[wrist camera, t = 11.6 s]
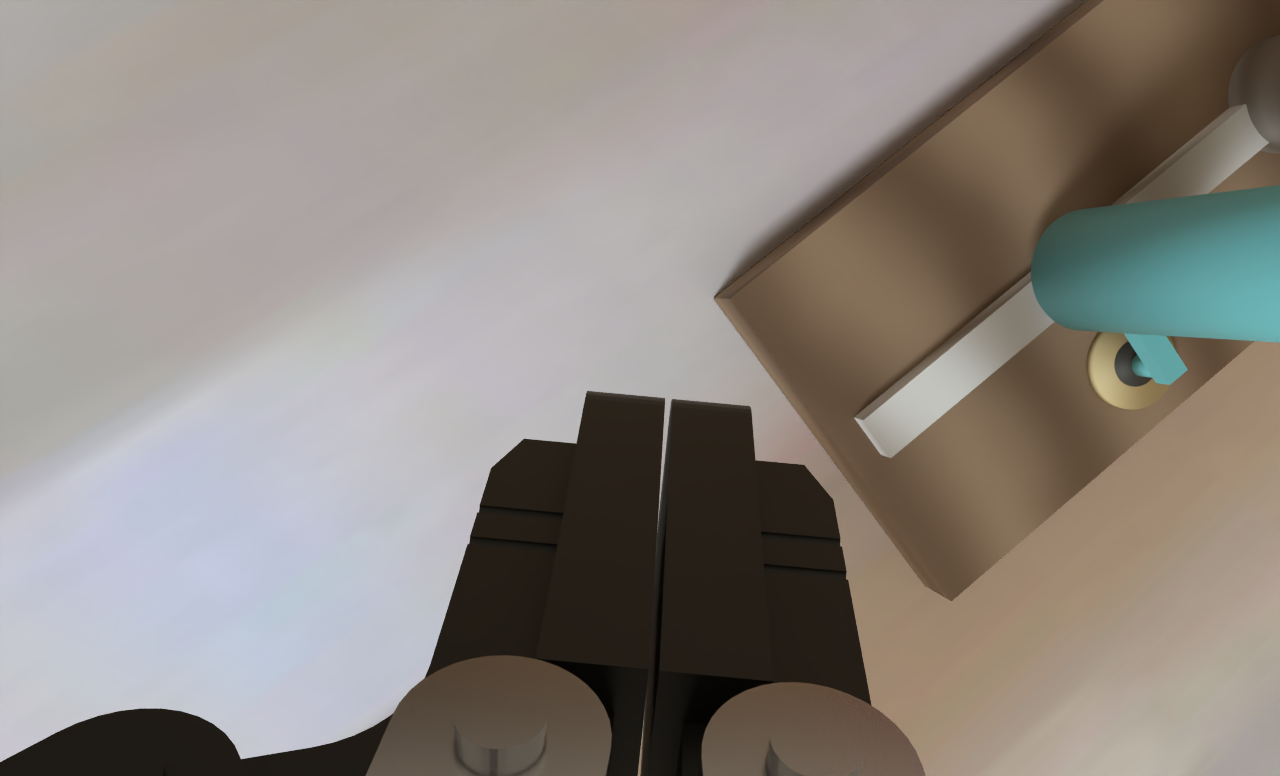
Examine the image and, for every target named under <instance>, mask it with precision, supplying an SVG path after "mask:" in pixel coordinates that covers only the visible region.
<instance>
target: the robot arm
mask: <svg viewBox="0 0 1280 776" xmlns="http://www.w3.org/2000/svg"><path fill="white" fill-rule="evenodd" d="M664 409H665V398H657V397H647V396H636V395H625V394H614V393H603V392H592V391H587V393H586V398H585V403H584V408H583V413H582V418H581V424H580V429H579V434H578V439H577V444H574V443H563V442H552V441H542V440H531V439H523V440H522V441H521V442H520V443H519V444H518V445H517V446H516V447H514V448H513V449H512V450H511V451H510V452H509V453H508V454H507V455H506V456H504V457H503V458H502V459H501V460H500V461H499V462H498V463H497V464H495V465H494V466H493V467H492V468H491V471H490V474H489V477H488V481H487V484H486V487H485V490H484V493H483V497H482V500H481V503H480V510H479V513H477V516H476V519H475V522H474V526H473V529H472V532H471V535H470V543H469V544H468V545H467V548H466V551H465V555H464V558H463V561H462V564H461V568H460V571H459V574H458V577H457V580H456V584H455V587H454V590H453V593H452V597H451V600H450V603H449V606H448V610H447V613H446V616H445V619H444V622H443V626H442V629H441V632H440V635H439V639H438V642H437V645H436V648H435V651H434V655H433V658H432V661H431V664H430V667H429V669H428V672H427V674H426V676H425V679H423V680H422V681H421V682H419V683H418V684H417V685H416V686H415V687H414V688H412V689H411V690H410V691H409V692H408V693H407V695H406V696H405V697H404V698H403V699H402V701H401V702H400V703H399V705H398V706H397V708H396V710H395V712H394V713H393V714H392V715H391V716H389V717H388V718H386V719H385V720H383V721H381V722H380V723H378V724H377V725H375V726H373V727H371V728H369V729H367V730H365V731H363V732H361V733H359V734H356V735H354V736H352V737H349V738H346V739H343V740H340V741H337V742H334V743H330V744H325V745H321V746H316V747H312V748H306V749H300V750H294V751H288V752H282V753H276V754H270V755H264V756H258V757H252V758H246V759H240V756H239V754H238V752H237V750H236V747H235V745H234V744H233V743H232V741H231V740H230V739H229V738H228V736H227V735H226V734H225V733H224V732H223V731H221V730H220V729H219V728H217V727H216V726H215V725H214V724H212V723H210V722H208V721H206V720H204V719H202V718H200V717H198V716H195V715H191V714H188V713H185V712H181V711H174V710H167V709H134V710H125V711H118V712H114V713H110V714H105V715H101V716H97V717H94V718H91V719H88V720H85V721H82V722H79V723H77V724H74V725H72V726H70V727H68V728H66V729H64V730H61V731H59V732H57V733H55V734H53V735H51V736H49V737H47V738H45V739H44V740H42V741H40V742H38V743H36V744H34V745H32V746H30V747H28V748H26V749H25V750H23V751H21V752H19V753H17V754H15V755H13V756H11V757H9V758H7V759H6V760H4V761H2V762H0V776H637V775H638V765H639V756H640V747H641V738H642V728H643V742H642V758H641V775H640V776H925V773H924V770H923V767H922V764H921V762H920V759H919V757H918V755H917V752H916V751H915V749H914V747H913V746H912V744H911V743H910V741H909V740H908V738H907V737H906V736H905V735H904V733H903V732H902V731H901V730H900V729H899V728H898V727H897V726H896V725H895V724H894V723H893V722H892V721H891V720H890V719H889V718H887V717H886V716H885V715H884V714H883V713H881V712H880V711H878V710H877V709H875V708H874V707H872V706H871V701H870V695H869V690H868V685H867V679H866V674H865V668H864V663H863V658H862V652H861V647H860V642H859V636H858V631H857V625H856V620H855V615H854V609H853V604H852V598H851V593H850V588H849V582H848V580H846V566H845V561H844V555H843V550H842V547H841V546H840V534H839V528H838V523H837V518H836V512H835V507H834V502H833V499H832V498H831V497H830V496H829V494H828V493H827V492H826V491H825V490H824V488H823V487H822V486H821V485H820V484H819V482H818V481H817V480H816V479H815V478H814V476H813V475H812V474H811V473H810V472H809V470H808V469H807V468H806V467H805V466H804V465H798V464H788V463H777V462H766V461H755V451H754V438H753V426H752V413H751V408H750V406H741V405H731V404H720V403H709V402H698V401H687V400H676V399H672V401H671V408H670V417H669V426H668V435H667V445H666V454H665V464H664V473H663V483H662V492H661V502H660V511H659V521H658V509H659V493H660V476H661V459H662V442H663V426H664ZM657 526H658V530H657ZM643 719H644V726H643Z"/></svg>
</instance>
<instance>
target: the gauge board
mask: <svg viewBox="0 0 1280 776" xmlns="http://www.w3.org/2000/svg"><path fill="white" fill-rule="evenodd" d="M1275 185H1280V0H1087V1H1086V2H1085V3H1084V4H1082V5H1081V6H1080V7H1079V8H1077V9H1076V10H1075V11H1073V12H1072V13H1071V14H1070V15H1068V16H1067V17H1066V18H1065V19H1063V20H1062V21H1061V22H1060V23H1058V24H1057V25H1056V26H1055V27H1053V28H1052V29H1051V30H1050V31H1048V32H1047V33H1046V34H1045V35H1043V36H1042V37H1041V38H1040V39H1038V40H1037V41H1036V42H1035V43H1033V44H1032V45H1031V46H1030V47H1028V48H1027V49H1026V50H1025V51H1023V52H1022V53H1021V54H1020V55H1018V56H1017V57H1016V58H1014V59H1013V60H1012V61H1011V62H1009V63H1008V64H1007V65H1006V66H1004V67H1003V68H1002V69H1001V70H999V71H998V72H997V73H996V74H994V75H993V76H992V77H991V78H989V79H988V80H987V81H986V82H984V83H983V84H982V85H981V86H979V87H978V88H977V89H976V90H974V91H973V92H972V93H971V94H969V95H968V96H967V97H966V98H964V99H963V100H962V101H960V102H959V103H958V104H957V105H955V106H954V107H953V108H952V109H950V110H949V111H948V112H947V113H945V114H944V115H943V116H942V117H940V118H939V119H938V120H937V121H935V122H934V123H933V124H932V125H930V126H929V127H928V128H927V129H925V130H924V131H923V132H922V133H920V134H919V135H918V136H917V137H915V138H914V139H913V140H912V141H910V142H909V143H908V144H906V145H905V146H904V147H903V148H901V149H900V150H899V151H898V152H896V153H895V154H894V155H893V156H891V157H890V158H889V159H888V160H886V161H885V162H884V163H883V164H881V165H880V166H879V167H878V168H876V169H875V170H874V171H873V172H871V173H870V174H869V175H868V176H866V177H865V178H864V179H863V180H861V181H860V182H859V183H858V184H856V185H855V186H854V187H852V188H851V189H850V190H849V191H847V192H846V193H845V194H844V195H842V196H841V197H840V198H839V199H837V200H836V201H835V202H834V203H832V204H831V205H830V206H829V207H827V208H826V209H825V210H824V211H822V212H821V213H820V214H819V215H817V216H816V217H815V218H814V219H812V220H811V221H810V222H809V223H807V224H806V225H805V226H804V227H802V228H801V229H800V230H799V231H797V232H796V233H795V234H793V235H792V236H791V237H790V238H788V239H787V240H786V241H785V242H783V243H782V244H781V245H780V246H778V247H777V248H776V249H775V250H773V251H772V252H771V253H770V254H768V255H767V256H766V257H765V258H763V259H762V260H761V261H760V262H758V263H757V264H756V265H755V266H753V267H752V268H751V269H750V270H748V271H747V272H746V273H745V274H743V275H742V276H741V277H739V278H738V279H737V280H736V281H734V282H733V283H732V284H731V285H729V286H728V287H727V288H726V289H724V290H723V291H722V292H721V293H719V294H718V295H717V296H716V297H714V298H713V299H714V300H715V301H716V303H717V304H718V305H719V307H720V308H721V309H722V311H723V312H724V314H725V315H726V316H727V318H728V319H729V320H730V322H731V323H732V324H733V326H734V327H735V328H736V330H737V331H738V333H739V334H740V335H741V337H742V338H743V339H744V341H745V342H746V343H747V345H748V346H749V347H750V349H751V350H752V352H753V353H754V354H755V356H756V357H757V358H758V360H759V361H760V362H761V364H762V365H763V367H764V368H765V369H766V371H767V372H768V373H769V375H770V376H771V377H772V379H773V380H774V381H775V383H776V384H777V386H778V387H779V388H780V390H781V391H782V392H783V394H784V395H785V396H786V398H787V399H788V400H789V402H790V403H791V405H792V406H793V407H794V409H795V410H796V411H797V413H798V414H799V415H800V417H801V418H802V419H803V421H804V422H805V424H806V425H807V426H808V428H809V429H810V430H811V432H812V433H813V434H814V436H815V437H816V438H817V440H818V441H819V443H820V444H821V445H822V447H823V448H824V449H825V451H826V452H827V453H828V455H829V456H830V458H831V459H832V460H833V462H834V463H835V464H836V466H837V467H838V468H839V470H840V471H841V472H842V474H843V475H844V477H845V478H846V479H847V481H848V482H849V483H850V485H851V486H852V487H853V489H854V490H855V491H856V493H857V494H858V496H859V497H860V498H861V500H862V501H863V502H864V504H865V505H866V506H867V508H868V509H869V510H870V512H871V513H872V515H873V516H874V517H875V519H876V520H877V521H878V523H879V524H880V525H881V527H882V528H883V530H884V531H885V532H886V534H887V535H888V536H889V538H890V539H891V540H892V542H893V543H894V544H895V546H896V547H897V549H898V550H899V551H900V553H901V554H902V555H903V557H904V558H905V559H906V561H907V562H908V563H909V565H910V566H911V568H912V569H913V570H914V572H915V573H916V574H917V576H918V577H919V578H920V580H921V581H922V582H923V584H924V585H925V586H926V587H928V588H930V589H931V590H933V591H935V592H937V593H938V594H940V595H942V596H943V597H945V598H947V599H949V600H950V601H952V600H953V599H955V598H956V597H957V596H958V595H959V594H960V593H962V592H963V591H964V590H965V589H966V588H967V587H969V586H970V585H971V584H972V583H973V582H974V581H976V580H977V579H978V578H979V577H980V576H981V575H983V574H984V573H985V572H986V571H987V570H988V569H990V568H991V567H992V566H993V565H994V564H995V563H996V562H998V561H999V560H1000V559H1001V558H1002V557H1003V556H1005V555H1006V554H1007V553H1008V552H1009V551H1010V550H1012V549H1013V548H1014V547H1015V546H1016V545H1017V544H1019V543H1020V542H1021V541H1022V540H1023V539H1024V538H1026V537H1027V536H1028V535H1029V534H1030V533H1031V532H1033V531H1034V530H1035V529H1036V528H1037V527H1038V526H1040V525H1041V524H1042V523H1043V522H1044V521H1045V520H1047V519H1048V518H1049V517H1050V516H1051V515H1052V514H1054V513H1055V512H1056V511H1057V510H1058V509H1059V508H1061V507H1062V506H1063V505H1064V504H1065V503H1066V502H1068V501H1069V500H1070V499H1071V498H1072V497H1073V496H1074V495H1076V494H1077V493H1078V492H1079V491H1080V490H1081V489H1083V488H1084V487H1085V486H1086V485H1087V484H1088V483H1090V482H1091V481H1092V480H1093V479H1094V478H1095V477H1097V476H1098V475H1099V474H1100V473H1101V472H1102V471H1104V470H1105V469H1106V468H1107V467H1108V466H1109V465H1111V464H1112V463H1113V462H1114V461H1115V460H1116V459H1118V458H1119V457H1120V456H1121V455H1122V454H1123V453H1125V452H1126V451H1127V450H1128V449H1129V448H1130V447H1132V446H1133V445H1134V444H1135V443H1136V442H1137V441H1139V440H1140V439H1141V438H1142V437H1143V436H1144V435H1145V434H1147V433H1148V432H1149V431H1150V430H1151V429H1152V428H1154V427H1155V426H1156V425H1157V424H1158V423H1159V422H1161V421H1162V420H1163V419H1164V418H1165V417H1166V416H1168V415H1169V414H1170V413H1171V412H1172V411H1173V410H1175V409H1176V408H1177V407H1178V406H1179V405H1180V404H1182V403H1183V402H1184V401H1185V400H1186V399H1187V398H1189V397H1190V396H1191V395H1192V394H1193V393H1194V392H1196V391H1197V390H1198V389H1199V388H1200V387H1201V386H1203V385H1204V384H1205V383H1206V382H1207V381H1208V380H1210V379H1211V378H1212V377H1213V376H1214V375H1215V374H1217V373H1218V372H1219V371H1220V370H1221V369H1222V368H1223V367H1225V366H1226V365H1227V364H1228V363H1229V362H1230V361H1232V360H1233V359H1234V358H1235V357H1236V356H1237V355H1239V354H1240V353H1241V352H1242V351H1243V350H1244V349H1246V348H1247V347H1248V346H1249V345H1250V344H1251V343H1253V342H1254V341H1246V340H1229V339H1212V338H1195V337H1178V336H1167V338H1168V340H1169V341H1170V343H1171V344H1172V346H1173V347H1174V349H1175V350H1176V352H1177V354H1178V355H1179V357H1180V358H1181V360H1182V361H1183V363H1184V364H1185V366H1186V368H1187V369H1188V370H1187V371H1186V372H1185V373H1183V374H1182V375H1181V376H1180V377H1179V378H1178V379H1176V380H1175V381H1174V382H1173V383H1172V384H1171V385H1167V384H1159V383H1156V382H1155V381H1154V379H1153V378H1151V377H1142V376H1138V375H1136V374H1135V373H1134V372H1133V370H1132V360H1133V358H1134V357H1135V356H1136V355H1137V353H1136V352H1135V350H1134V349H1133V347H1132V346H1131V344H1130V343H1129V341H1128V339H1127V338H1126V336H1125V335H1124V333H1111V332H1094V331H1077V330H1072V329H1069V328H1066V327H1063V326H1061V325H1060V324H1058V323H1056V322H1055V321H1054V320H1052V319H1051V318H1050V317H1049V316H1048V315H1047V314H1046V313H1045V312H1044V310H1043V309H1042V308H1041V306H1040V304H1039V303H1038V301H1037V299H1036V296H1035V294H1034V290H1033V287H1032V280H1031V264H1032V258H1033V254H1034V251H1035V248H1036V245H1037V243H1038V241H1039V239H1040V237H1041V236H1042V234H1043V233H1044V231H1045V230H1046V229H1047V228H1048V227H1049V226H1050V225H1051V224H1052V223H1053V222H1054V221H1055V220H1057V219H1058V218H1059V217H1061V216H1063V215H1065V214H1067V213H1069V212H1072V211H1076V210H1080V209H1088V208H1096V207H1104V206H1113V205H1121V204H1129V203H1137V202H1145V201H1153V200H1161V199H1169V198H1177V197H1186V196H1194V195H1202V194H1210V193H1218V192H1226V191H1234V190H1242V189H1250V188H1259V187H1267V186H1275Z"/></svg>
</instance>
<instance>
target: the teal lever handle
mask: <svg viewBox="0 0 1280 776" xmlns="http://www.w3.org/2000/svg"><path fill="white" fill-rule="evenodd" d="M1031 280H1032V287H1033V290H1034V294H1035V296H1036V299H1037V301H1038V303H1039V304H1040V306H1041V308H1042V309H1043V310H1044V312H1045V313H1046V314H1047V315H1048V316H1049V317H1050V318H1051V319H1052V320H1054V321H1055V322H1056V323H1058V324H1060V325H1061V326H1063V327H1066V328H1069V329H1072V330H1077V331H1094V332H1111V333H1124V335H1125V336H1126V338H1127V339H1128V341H1129V343H1130V344H1131V346H1132V347H1133V349H1134V350H1135V352H1136V353H1137V355H1136V356H1135V357H1134V358H1133V360H1132V370H1133V372H1134V373H1135V374H1136V375H1138V376H1142V377H1151V378H1153V379H1154V381H1155V382H1156V383H1159V384H1167V385H1171V384H1172V383H1173V382H1174V381H1175V380H1176V379H1178V378H1179V377H1180V376H1181V375H1182V374H1183V373H1185V372H1186V371H1187V370H1188V369H1187V368H1186V366H1185V364H1184V363H1183V361H1182V360H1181V358H1180V357H1179V355H1178V354H1177V352H1176V350H1175V349H1174V347H1173V346H1172V344H1171V343H1170V341H1169V340H1168V338H1167V336H1178V337H1195V338H1212V339H1229V340H1246V341H1263V342H1280V185H1275V186H1267V187H1259V188H1250V189H1242V190H1234V191H1226V192H1218V193H1210V194H1202V195H1194V196H1186V197H1177V198H1169V199H1161V200H1153V201H1145V202H1137V203H1129V204H1121V205H1113V206H1104V207H1096V208H1088V209H1080V210H1076V211H1072V212H1069V213H1067V214H1065V215H1063V216H1061V217H1059V218H1058V219H1057V220H1055V221H1054V222H1053V223H1052V224H1051V225H1050V226H1049V227H1048V228H1047V229H1046V230H1045V231H1044V233H1043V234H1042V236H1041V237H1040V239H1039V241H1038V243H1037V245H1036V248H1035V251H1034V254H1033V258H1032V264H1031Z"/></svg>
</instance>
